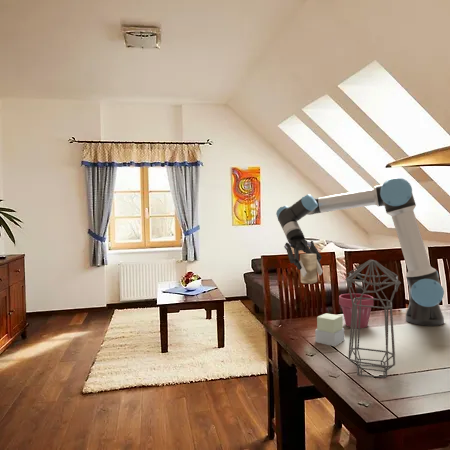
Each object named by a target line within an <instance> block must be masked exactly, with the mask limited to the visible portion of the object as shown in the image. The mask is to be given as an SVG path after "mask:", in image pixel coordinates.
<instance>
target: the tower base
mask: <svg viewBox="0 0 450 450" xmlns="http://www.w3.org/2000/svg"><path fill="white" fill-rule="evenodd" d="M314 332H315V335H314V336H315V343H319V344H322V345H327V346H332V347H336V346H338V345H340V344H341V343H342V341H343V342H344V341H345V328H344V327H343V329H341V330H339V331H337V332H335V333H331V332H326V331H321V330H317V328H316V329H314ZM339 343H340V344H339Z"/></svg>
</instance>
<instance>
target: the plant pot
mask: <svg viewBox="0 0 450 450" xmlns="http://www.w3.org/2000/svg"><path fill="white" fill-rule="evenodd" d="M354 293H355V292H354ZM354 293H353V292H351V294H352V298H353V299H354V298H356V297H357V298H360V296H361V294H362V293H355V295H356V297H355V295H354ZM361 298H372V299H374V297H373V296H371V295H369V294H366V293H364V294H363V296H362V297H361ZM357 301H358V299H357V300H356V302H357ZM374 302H375V300H371V299H362V300H361V305H366V306H374ZM354 303H355V300H354ZM338 304H339V306H340V307H341V310H342V314H343V315H342V316H343V319H344V322H345V325H346V326H347V327H348V328H351V317H352V301H351V296H350V293H343V294H342V293H341V294H340V295H339V296H338ZM357 305H360V300H359V301H358V302H357ZM371 310H372V307H363V306H361V319H360V329H365V328H368V325H369V320H370V316H371V313H372V311H371ZM353 318H354V315H353ZM358 324H359V306H357V329H358ZM352 329H353V327H352ZM354 329H355V327H354Z"/></svg>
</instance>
